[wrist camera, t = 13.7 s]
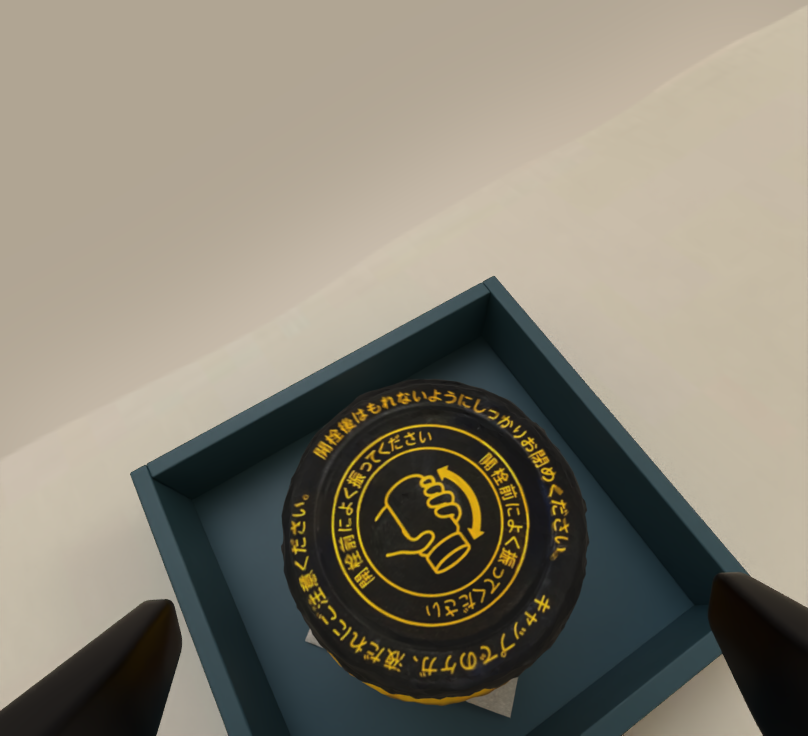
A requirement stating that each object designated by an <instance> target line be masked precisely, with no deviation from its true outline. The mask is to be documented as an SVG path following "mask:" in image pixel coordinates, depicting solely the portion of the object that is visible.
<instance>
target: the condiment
mask: <svg viewBox="0 0 808 736" xmlns="http://www.w3.org/2000/svg"><path fill="white" fill-rule="evenodd" d="M586 512H587V507H586V502H585V500H584V499H583V498H582V494H581V489H580V487H579V484H578V482H577V479H576V477H575V475H574V472H573V470H572V469H571V467H570V465H569V464H568V462H567V461H566V459H565V458H564V457H563V455H562V454H561V452H560V449H558V448H557V447H556V446H555V445H554V444H553V443H552V442H551V440H550V439H549V438H548V436H547V434H546V432H545V429H543V428H541V427H540V426H539V425H538V424H537V423H536V422H533V421H532V420H531V419H530V418H529V417H528V416H527V415H526V414H525V413H524V412H523V411H522V410H521V409H520V408H518V407H517V406H516V405H515V404H514V403H513V402H511V401H510V400H508V399H506V398H503V397H501V396H498V395H496V394H495V393H492V392H489V391H487V390H485V389H483V388H478V387H474V386H470V385H466V384H464V383H461V382H457V381H450V380H442V379H415V380H406V381H402V382H400V383H397V384H394V385H391V386H387V387H383V388H380V389H378V390H373V391H369V392H366V393H364V394H362V395H360V396H358V397H357V398H356V399H355V400H354V401H353V402H352V403H351V404H349V405H348V406H347V407H346V408H345V409H343V410H342V411H341V412H339V413H338V414H337V415H336V416H335V417H334V418H333V419H332V420H331V421H330V422H329V423H327V424H326V425H325V426H324V427H323V428H322V429H321V430H319V431H318V432H317V433H316V434H315V435H314V437H313V438H312V440H311V441H310V443H309V444H308V446H307V448H306V449H305V451H304V453H303V455H302V457H301V459H300V462H299V465H298V467H297V469H296V471H295V473H294V475H293V476H292V478H291V482H290V485H289V489H288V492H287V495H286V498H285V501H284V505H283V510H282V515H281V517H282V528H283V544H282V545H281V551H282V554H283V560H284V570H283V571H284V574H285V577H286V580H287V584H288V587H289V590H290V593H291V595H292V597H293V599H294V601H295V603H296V608H297V609H298V610H299V611H300V612H301V614H302V616H303V619H304V621H305V622H306V624H307V625H308V626H309V628H310V630H309V632H308V635H307V637H306V640H305V641H306V642H309V643H312V644H314V645H317V646H319V647H322V648H324V649H326V650H327V651H328V652H329V654H330V655H331V656H332V657H333V658H334V659H335V661H336V662H337V663H338V664H339V665H340V666H341V667H342V668H343V669H344V670H345V671H346V672H348V673H349V674H350V675H352V676H354V677H355V678H357V679H358V680H360V681H362V682H363V683H365V684H366V685H368V686H370V687H371V688H373V689H375V690H377V691H378V692H380V693H381V694H384V695H386V696H388V697H390V698H394V699H398V700H401V701H404V702H416V703H419V704H425V705H439V706H444V705H448V704H453V703H459V702H463V701H467V702H469V703H472V704H475V705H477V706H480V707H482V708H485V709H488V710H490V711H493V712H496V713H498V714H501V715H504V716H507V717H509V718H510V716H511V711H512V706H513V701H514V695H515V690H516V685H517V680H518V677H519V676H520V675H521V674H522V673H523V672H524V671H525V670H526V669H527V668H529V667H531V666H532V665H533V663H534V662H535V661H536V660H537V659H538V658H539V657H540V656H541V655H542V654H543V653H544V652H546V651H547V650H548V649H549V648H551V646H552V645H553V644H554V642H555V641H556V639H557V638H558V636H559V634H560V633H561V631H562V630H563V629H564V628H565V625H566V622H567V621H568V619H569V617H570V615H571V613H572V611H573V609H574V607H575V605H576V603H577V600H578V598H579V595H580V592H581V588H582V583H583V580H584V578H585V575H586V565H587V559H586V552H587V547H588V545H589V536H588V531H587V521H586V516H585V514H586Z"/></svg>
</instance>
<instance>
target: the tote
mask: <svg viewBox="0 0 808 736" xmlns="http://www.w3.org/2000/svg"><path fill="white" fill-rule="evenodd" d="M415 379H442V380H450V381H457V382H461V383H464V384H466V385H470V386H474V387H478V388H483V389H485V390H487V391H489V392H492V393H495V394H496V395H498V396H501V397H503V398H506V399H508V400H510V401H511V402H513V403H514V404H515V405H516V406H517V407H518V408H520V409H521V410H522V411H523V412H524V413H525V414H526V415H527V416H528V417H529V418H530V419H531V420H532V421H533V422H536V423H537V424H538V425H539V426H540V427H541V428H543V429H545V432H546V434H547V436H548V438H549V439H550V440H551V442H552V443H553V444H554V445H555V446H556V447H557V448H558V449H560V452H561V454H562V455H563V457H564V458H565V459H566V461H567V462H568V464H569V465H570V467H571V469H572V470H573V472H574V475H575V477H576V479H577V482H578V484H579V487H580V489H581V494H582V498H583V499H584V500H585V502H586V507H587V512H586V514H585V516H586V521H587V531H588V536H589V545H588V547H587V552H586V559H587V565H586V575H585V578H584V580H583V583H582V588H581V592H580V595H579V598H578V600H577V603H576V605H575V607H574V609H573V611H572V613H571V615H570V617H569V619H568V621H567V622H566V625H565V628H564V629H563V630H562V631H561V633H560V634H559V636H558V638H557V639H556V641H555V642H554V644H553V645H552V646H551V648H549V649H548V650H547V651H546V652H544V653H543V654H542V655H541V656H540V657H539V658H538V659H537V660H536V661H535V662H534V663H533V665H532V666H531V667H529V668H527V669H526V670H525V671H524V672H523V673H522V674H521V675H520V676H519V677H518V680H517V685H516V690H515V695H514V701H513V706H512V711H511V716H510V718H509V717H507V716H504V715H501V714H498V713H496V712H493V711H490V710H488V709H485V708H482V707H480V706H477V705H475V704H472V703H469V702H467V701H463V702H459V703H453V704H448V705H444V706H439V705H425V704H419V703H416V702H404V701H401V700H398V699H394V698H390V697H388V696H386V695H384V694H381V693H380V692H378V691H377V690H375V689H373V688H371V687H370V686H368V685H366V684H365V683H363V682H362V681H360V680H358V679H357V678H355V677H354V676H352V675H350V674H349V673H348V672H346V671H345V670H344V669H343V668H342V667H341V666H340V665H339V664H338V663H337V662H336V661H335V659H334V658H333V657H332V656H331V655H330V654H329V652H328V651H327V650H326V649H324V648H322V647H319V646H317V645H314V644H312V643H309V642H306V641H305V640H306V637H307V635H308V632H309V630H310V628H309V626H308V625H307V624H306V622H305V621H304V619H303V616H302V614H301V612H300V611H299V610H298V609H297V608H296V603H295V601H294V599H293V597H292V595H291V593H290V590H289V587H288V584H287V580H286V577H285V574H284V571H283V570H284V560H283V554H282V551H281V545H282V544H283V528H282V517H281V515H282V510H283V505H284V501H285V498H286V495H287V492H288V489H289V485H290V482H291V478H292V476H293V475H294V473H295V471H296V469H297V467H298V465H299V462H300V459H301V457H302V455H303V453H304V451H305V449H306V448H307V446H308V444H309V443H310V441H311V440H312V438H313V437H314V435H315V434H316V433H317V432H318V431H319V430H321V429H322V428H323V427H324V426H325V425H326V424H327V423H329V422H330V421H331V420H332V419H333V418H334V417H335V416H336V415H337V414H338V413H339V412H341V411H342V410H343V409H345V408H346V407H347V406H348V405H349V404H351V403H352V402H353V401H354V400H355V399H356V398H357V397H358V396H360V395H362V394H364V393H366V392H369V391H373V390H378V389H380V388H383V387H387V386H391V385H394V384H397V383H400V382H402V381H406V380H415ZM130 475H131V478H132V480H133V483H134V486H135V488H136V491H137V494H138V496H139V499H140V502H141V504H142V507H143V510H144V512H145V515H146V518H147V520H148V523H149V526H150V528H151V531H152V534H153V536H154V539H155V542H156V544H157V547H158V550H159V552H160V555H161V557H162V560H163V563H164V565H165V568H166V571H167V573H168V576H169V579H170V581H171V584H172V587H173V589H174V592H175V595H176V597H177V600H178V603H179V605H180V608H181V611H182V613H183V616H184V619H185V621H186V624H187V627H188V629H189V632H190V635H191V637H192V640H193V643H194V645H195V648H196V651H197V653H198V656H199V658H200V661H201V664H202V666H203V669H204V672H205V674H206V677H207V680H208V682H209V685H210V688H211V690H212V693H213V696H214V698H215V701H216V704H217V706H218V709H219V712H220V714H221V717H222V720H223V722H224V725H225V728H226V730H227V733H228V736H621V735H623V734H624V733H625V732H626V731H628V730H629V729H630V728H631V727H632V726H634V725H635V724H636V723H637V722H639V721H640V720H641V719H642V718H644V717H645V716H646V715H647V714H648V713H650V712H651V711H652V710H653V709H655V708H656V707H657V706H658V705H660V704H661V703H662V702H663V701H665V700H666V699H667V698H668V697H669V696H671V695H672V694H673V693H674V692H676V691H677V690H678V689H679V688H681V687H682V686H683V685H684V684H685V683H687V682H688V681H689V680H690V679H692V678H693V677H694V676H695V675H697V674H698V673H699V672H700V671H701V670H703V669H704V668H705V667H706V666H708V665H709V664H710V663H711V662H713V661H714V660H715V659H716V658H717V657H719V656H720V655H721V654H722V651H721V649H720V647H719V645H718V643H717V641H716V639H715V637H714V635H713V633H712V631H711V628H710V625H709V622H708V615H707V612H708V605H709V599H710V593H711V587H712V581H713V578H714V576H715V575H716V574H718V573H728V572H742V573H745V574H747V575H749V574H748V573H747V571H746V570H745V569H744V568H743V567H742V566H741V564H740V563H739V562H738V561H737V560H736V559H735V557H734V556H733V555H732V554H731V553H730V552H729V550H728V549H727V548H726V547H725V546H724V544H723V543H722V542H721V541H720V540H719V539H718V537H717V536H716V535H715V534H714V533H713V532H712V530H711V529H710V528H709V527H708V526H707V525H706V523H705V522H704V521H703V520H702V519H701V518H700V516H699V515H698V514H697V513H696V512H695V510H694V509H693V508H692V507H691V506H690V505H689V503H688V502H687V501H686V500H685V499H684V498H683V496H682V495H681V494H680V493H679V492H678V491H677V489H676V488H675V487H674V486H673V485H672V483H671V482H670V481H669V480H668V479H667V478H666V476H665V475H664V474H663V473H662V472H661V471H660V469H659V468H658V467H657V466H656V465H655V464H654V462H653V461H652V460H651V459H650V458H649V457H648V455H647V454H646V453H645V452H644V451H643V449H642V448H641V447H640V446H639V445H638V444H637V442H636V441H635V440H634V439H633V438H632V437H631V435H630V434H629V433H628V432H627V431H626V430H625V428H624V427H623V426H622V425H621V424H620V423H619V421H618V420H617V419H616V418H615V417H614V415H613V414H612V413H611V412H610V411H609V410H608V408H607V407H606V406H605V405H604V404H603V403H602V401H601V400H600V399H599V398H598V397H597V396H596V394H595V393H594V392H593V391H592V390H591V388H590V387H589V386H588V385H587V384H586V383H585V381H584V380H583V379H582V378H581V377H580V376H579V374H578V373H577V372H576V371H575V370H574V369H573V367H572V366H571V365H570V364H569V363H568V362H567V360H566V359H565V358H564V357H563V356H562V354H561V353H560V352H559V351H558V350H557V349H556V347H555V346H554V345H553V344H552V343H551V342H550V340H549V339H548V338H547V337H546V336H545V335H544V333H543V332H542V331H541V330H540V329H539V328H538V326H537V325H536V324H535V323H534V322H533V320H532V319H531V318H530V317H529V316H528V315H527V313H526V312H525V311H524V310H523V309H522V308H521V306H520V305H519V304H518V303H517V302H516V301H515V299H514V298H513V297H512V296H511V295H510V293H509V292H508V291H507V290H506V289H505V288H504V286H503V285H502V284H501V283H500V282H499V281H498V279H497V278H496V277H495V276H492V277H491V278H489V279H487V280H485V281H483V283H480V284H478V285H476V286H474V287H472V288H470V289H468V290H467V291H465V292H463V293H461V294H459V295H457V296H456V297H454V298H452V299H450V300H448V301H446V302H444V303H443V304H441V305H439V306H437V307H435V308H433V309H432V310H430V311H428V312H426V313H424V314H422V315H421V316H419V317H417V318H415V319H413V320H411V321H409V322H408V323H406V324H404V325H402V326H400V327H398V328H397V329H395V330H393V331H391V332H389V333H387V334H385V335H384V336H382V337H380V338H378V339H376V340H374V341H373V342H371V343H369V344H367V345H365V346H363V347H361V348H360V349H358V350H356V351H354V352H352V353H350V354H349V355H347V356H345V357H343V358H341V359H339V360H337V361H336V362H334V363H332V364H330V365H328V366H326V367H325V368H323V369H321V370H319V371H317V372H315V373H314V374H312V375H310V376H308V377H306V378H304V379H302V380H301V381H299V382H297V383H295V384H293V385H291V386H290V387H288V388H286V389H284V390H282V391H280V392H278V393H277V394H275V395H273V396H271V397H269V398H267V399H266V400H264V401H262V402H260V403H258V404H256V405H254V406H253V407H251V408H249V409H247V410H245V411H243V412H242V413H240V414H238V415H236V416H234V417H232V418H230V419H229V420H227V421H225V422H223V423H221V424H219V425H218V426H216V427H214V428H212V429H210V430H208V431H207V432H205V433H203V434H201V435H199V436H197V437H195V438H194V439H192V440H190V441H188V442H186V443H184V444H183V445H181V446H179V447H177V448H175V449H173V450H171V451H170V452H168V453H166V454H164V455H162V456H160V457H159V458H157V459H155V460H153V461H151V462H149V463H148V464H147V465H144V466H142V467H140V468H138V469H136V470H135V471H133V472H131V473H130ZM749 576H750V575H749Z"/></svg>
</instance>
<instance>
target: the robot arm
mask: <svg viewBox="0 0 808 736" xmlns="http://www.w3.org/2000/svg"><path fill="white" fill-rule="evenodd" d="M707 615H708V622H709V625H710V628H711V631H712V633H713V635H714V637H715V639H716V641H717V643H718V645H719V647H720V649H721V651H722V654H723V656H724V658H725V660H726V662H727V664H728V666H729V668H730V670H731V672H732V675H733V677H734V679H735V681H736V683H737V685H738V687H739V689H740V691H741V693H742V695H743V698H744V700H745V702H746V704H747V706H748V708H749V710H750V712H751V714H752V716H753V718H754V720H755V722H756V724H757V726H758V727H759V729H760V731H761V733H762V734H763V736H808V608H807V607H805V606H803V605H801V604H800V603H798V602H796V601H794V600H792V599H790V598H789V597H787V596H785V595H783V594H781V593H780V592H778V591H776V590H774V589H772V588H770V587H769V586H767V585H765V584H763V583H761V582H760V581H758V580H756V579H754V578H752V577H751V576H749V575H747V574H745V573H742V572H728V573H718V574H716V575H715V576H714V578H713V581H712V587H711V593H710V599H709V605H708V612H707ZM181 649H182V636H181V632H180V627H179V623H178V619H177V615H176V611H175V607H174V604H173V603H172V601H171V600H168V599H161V600H148V601H145V602H143V603H142V604H140V605H139V606H137V607H136V608H135V609H133V610H132V611H131V612H130V613H128V614H127V615H126V616H124V617H123V618H122V619H120V620H119V621H118V622H116V623H115V624H114V625H112V626H111V627H110V628H109V629H107V630H106V631H105V632H103V633H102V634H101V635H99V636H98V637H97V638H95V639H94V640H93V641H91V642H90V643H89V644H88V645H86V646H85V647H84V648H82V649H81V650H80V651H78V652H77V653H76V654H74V655H73V656H72V657H70V658H69V659H68V660H66V661H65V662H64V663H63V664H61V665H60V666H59V667H57V668H56V669H55V670H53V671H52V672H51V673H49V674H48V675H47V676H45V677H44V678H43V679H42V680H40V681H39V682H38V683H36V684H35V685H34V686H32V687H31V688H30V689H28V690H27V691H26V692H24V693H23V694H22V695H21V696H19V697H18V698H17V699H15V700H14V701H13V702H11V703H10V704H9V705H7V706H6V707H5V708H3V709H2V710H1V711H0V736H156V735H157V732H158V728H159V725H160V721H161V718H162V715H163V711H164V708H165V704H166V701H167V698H168V694H169V691H170V688H171V684H172V681H173V677H174V674H175V671H176V667H177V664H178V660H179V657H180V653H181Z"/></svg>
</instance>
